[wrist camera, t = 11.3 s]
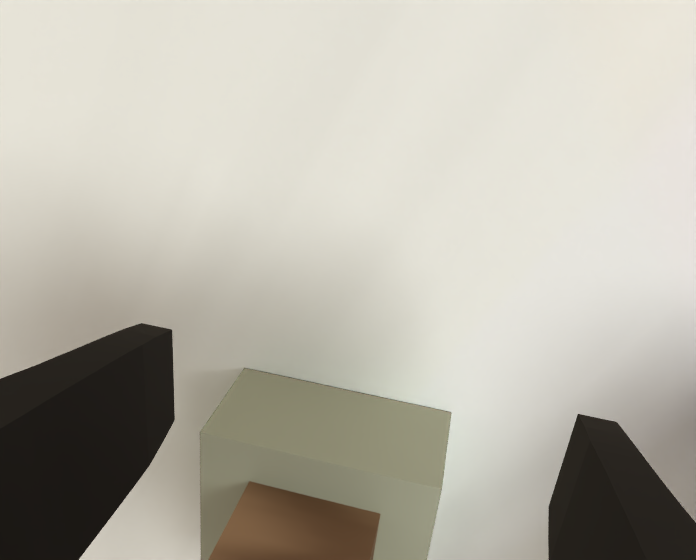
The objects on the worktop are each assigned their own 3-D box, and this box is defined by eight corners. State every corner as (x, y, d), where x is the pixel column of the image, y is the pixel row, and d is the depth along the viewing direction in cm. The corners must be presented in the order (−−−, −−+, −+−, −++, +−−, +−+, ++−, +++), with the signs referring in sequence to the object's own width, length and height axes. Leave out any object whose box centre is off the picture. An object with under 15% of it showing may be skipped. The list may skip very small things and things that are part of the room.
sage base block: (451, 412, 23) (441, 489, 19) (419, 566, 26) (406, 654, 23) (244, 368, 24) (200, 432, 21) (239, 519, 28) (201, 597, 24)
